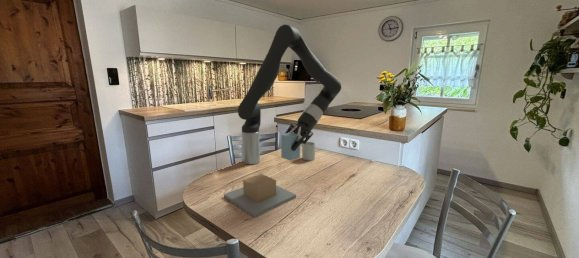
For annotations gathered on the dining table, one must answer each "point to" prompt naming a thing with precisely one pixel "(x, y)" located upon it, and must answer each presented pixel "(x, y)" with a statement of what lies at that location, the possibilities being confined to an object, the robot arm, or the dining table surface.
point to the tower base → (259, 205)
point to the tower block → (289, 147)
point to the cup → (308, 151)
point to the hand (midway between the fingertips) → (287, 147)
